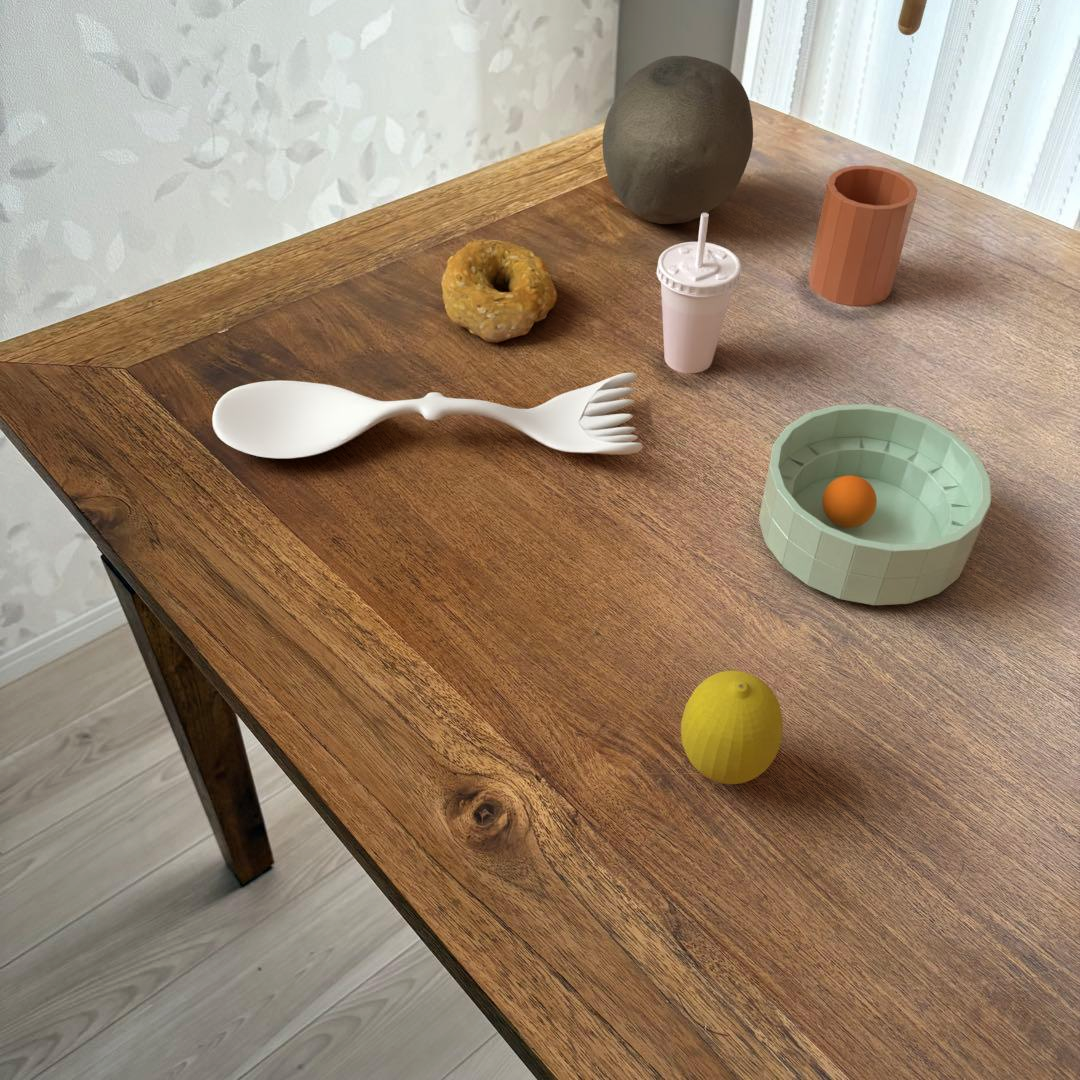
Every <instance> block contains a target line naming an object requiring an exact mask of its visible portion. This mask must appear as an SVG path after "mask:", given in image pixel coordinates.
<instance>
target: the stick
mask: <svg viewBox="0 0 1080 1080" xmlns="http://www.w3.org/2000/svg"><path fill="white" fill-rule="evenodd" d="M927 2H928V0H902V5H901V9H900V14H899V17H898V20H897V21H898V22H897V29H898V30H899V32H900V33H901V34H902V35H904V36H912V35H914V34H915V33H917V32H918V31H919V29H920V28H921V24H922V20H923V17H924V14H925V10H926V6H927Z"/></svg>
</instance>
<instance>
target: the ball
mask: <svg viewBox="0 0 1080 1080" xmlns="http://www.w3.org/2000/svg"><path fill="white" fill-rule="evenodd" d="M822 504H823V509H824V512H825V514H826V516H827V517H828V518H829V519H830V520H831V521H832V522H833V523H835V524H836V525H839V526H841V527H846V528H852V527H857V526H860V525H862V524H864V523H865V522H867V521H868V520H869V519H870V518H871V517H872V515H873V514H874V512H875V509H876V505H877V498H876V494H875V491H874V489H873V487H872V486H871V485H870V483H868V482H867V481H866V480H865V479H863V478H861V477H858V476H854V475H846V476H842V477H839V478H837V479H835V480H833V481H832V482H831V483H830V484H829V485H828V486H827V488H826V490H825V491H824V494H823V499H822Z"/></svg>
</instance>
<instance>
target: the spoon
mask: <svg viewBox="0 0 1080 1080" xmlns="http://www.w3.org/2000/svg"><path fill="white" fill-rule="evenodd" d="M638 378H639V375H638V374H637V373H635V372H622V373H619V374H616V375H614V376H610V377H608V378H605V379H602V380H600V381H597V382H595V383H593V384H590V385H586V386H584V387H580V388H577V389H573V390H569V391H566V392H564V393H561V394H559V395H557V396H555V397H553V398H551V399H549V400H546V402H543V403H542V404H540V405H538V406H535V407H530V408H517V407H511V406H508V405H504V404H500V403H497V402H492V401H488V400H482V399H474V398H454V397H448V396H445V395H443V394H442V393H441V392H438V391H432V392H431V391H430V392H428V393H426V395H425V396H424V397H419V398H413V399H401V400H400V399H399V400H379V399H375V398H372V397H368V396H365V395H362V394H360V393H356V392H355V391H352V390H349V389H346V388H343V387H339V386H335V385H332V384H325V383H319V382H318V383H317V382H307V381H298V380H265V381H257V382H252V383H247V384H244V385H240V386H237V387H235V388H232V389H230V390H229V391H227V392H226V393H224V394H223V395H222V396H221V397H220V398H219V399H218V401H217V402H216V403H215V406H214V409H213V411H212V412H213V413H212V417H211V419H212V420H211V421H212V422H211V423H212V428H213V431H214V433H215V434H216V436H217V437H218V438H219V440H221V441H222V442H223V443H224V444H226V445H227V446H228V447H231V448H233V449H235V450H237V451H240V452H242V453H244V454H247V455H252V456H256V457H261V458H266V459H276V460H277V459H278V460H279V459H280V460H281V459H282V460H285V459H286V460H287V459H288V460H289V459H302V458H308V457H312V456H313V457H314V456H316V455H321V454H323V453H326V452H330V451H331V450H334V449H336V448H339V447H341V446H342V445H345V444H346V443H349V442H350V441H352V440H353V439H355V438H357V437H359V436H360V435H362V434H363V433H365V432H366V431H367V430H368V431H369V429H371V428H373V427H374V426H376V425H378V424H379V423H382V422H383V421H386V420H388V419H391V418H394V417H398V416H403V415H410V414H411V415H413V414H417V415H421V416H423V419H424V420H426V421H428V422H436V421H439V420H441V418H443V417H447V416H449V417H450V416H476V417H477V416H478V417H484V418H488V419H491V420H495V421H498V422H500V423H503V424H504V425H507V426H510V427H511V428H514V429H515V430H518V431H519V432H521V433H523V434H524V435H526V436H528V437H530V438H531V439H533V440H534V441H536V442H537V443H539V444H541V445H543V446H545V447H547V448H549V449H552V450H554V451H558V452H562V453H571V454H572V453H573V454H596V455H597V454H598V455H599V454H600V455H632V454H635V453H638V452H640V451H641V450H643V447H644V446H643V444H642V443H641V442H635V441H637V440H638V439H639V436H638V435H635V434H631V433H634V431H635V430H636V429H637V428H636V427H635V426H619V425H622V424H625V423H627V422H629V421H630V420H631V419H632V418H633V417H634V415H632V413H631V414H630V413H616V414H613V413H614V412H617V411H620V410H623V409H625V408H627V407H629V406H630V405H632V404H634V402H635V400H633V399H629V398H628V399H627V398H626V399H622V398H625V397H627V396H629V395H631V394H633V393H634V392H635V391H636V389H635V388H634V387H629V386H628V387H624V386H627V385H630V384H632V383H635V382H636V381H637V380H638ZM611 413H612V414H611ZM617 426H618V427H617Z"/></svg>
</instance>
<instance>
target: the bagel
mask: <svg viewBox="0 0 1080 1080" xmlns="http://www.w3.org/2000/svg"><path fill="white" fill-rule="evenodd" d="M446 261H447V262H446V268H445V271H444V273H443V275H442V277H441V284H440V285H441V289H442V295H441V298H443V299H442V300H443V304H444V308H445V311H446V314H447V317H448V318H449V319H450V321H451V323H453V324H454V325H456V326H458V327H462V328H464V329H466V330H468V331H469V333H470V334H473V335H475V336H476V337H479V338H481V339H482V340H483V341H484V342H488V343H497V344H498V343H500V342H504V341H507V340H510V339H513V338H517V337H519V336H520V337H521V336H525V335H527V334H528V333H529V332H530V331H531V328H532V327H533V326H534V323H538V322H540V321H542V320H545V319H546V318H547V314H548V313H549V312H550V310H551V309H553V308H554V306H555V304H556V302H557V299H558V293H557V290H556V288H555V284H554V282H553V281H552V276H551V272H550V269H549V268H548V266H547V264H546V263H545V261H544V259H543V258H542V257H540V256H539V255H538V254H537V253H536V252H535V251H533V250H532V249H529V248H527V247H525V246H521V245H518V244H516V243H513V242H511V241H505V240H500V239H495V240H494V239H486V238H485V239H478V240H475V241H470V242H468V243H467V244H466V245H465V246H463V247H462V248H461V249H459V250H457V251H456V252H455V254H453V255H451V256H450V257H449V258H448V260H446Z"/></svg>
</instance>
